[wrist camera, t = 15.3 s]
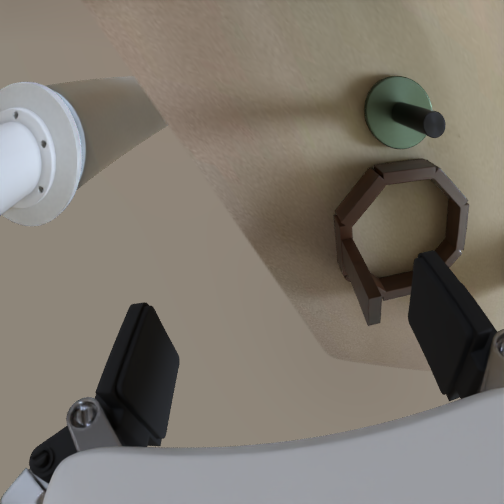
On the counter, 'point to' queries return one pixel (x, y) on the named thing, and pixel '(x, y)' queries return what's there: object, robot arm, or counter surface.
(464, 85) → the counter surface
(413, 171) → the ring
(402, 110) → the post
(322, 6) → the counter surface
